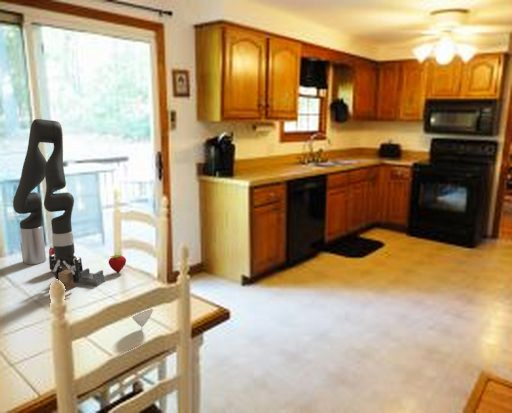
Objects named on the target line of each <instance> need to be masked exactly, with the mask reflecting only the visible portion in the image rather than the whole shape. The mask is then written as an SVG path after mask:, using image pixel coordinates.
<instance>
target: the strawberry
mask: <svg viewBox="0 0 512 413" xmlns="http://www.w3.org/2000/svg"><path fill="white" fill-rule="evenodd" d="M126 263H127V259H126V257H125V256H123V255H122V254H120V253H118V254H117V253H114V255H111V256H110V258H109V259H108V265H109V267H110V268H111V270H113V271H114V272H115V273H118V274H119V273H120V272H121V271H122V270H123V268H124V267H125V266H126Z"/></svg>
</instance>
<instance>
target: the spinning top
mask: <svg viewBox="0 0 512 413" xmlns="http://www.w3.org/2000/svg"><path fill="white" fill-rule="evenodd" d="M153 312H154V308H153V309H150V310H147V311H144V312H142V313H139V314H137V315H135V316H133V317H131V318H132V320H133V321H134V322H135V323H136V324H137V325H139V326H140V327H141V328H142V327H143V328H144V326H145V325H146V324H147V322H148V321H149V319H150V317H151V316H152V314H153Z"/></svg>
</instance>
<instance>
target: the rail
mask: <svg viewBox="0 0 512 413" xmlns="http://www.w3.org/2000/svg"><path fill="white" fill-rule="evenodd" d="M60 270H61V272H62V267H61V269H60ZM74 271H75V270H74ZM105 282H106V281H105V275H104V270H102V269H101V270H98V271H97V272H95V273H93V272H90V268H88V267H87V268H85V269H83V271H82V272H80V273H79V281H78V282H77V283H76V284H80V285H86V286H92V287H98V286H100V285H102V284H103V283H105Z"/></svg>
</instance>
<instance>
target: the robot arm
mask: <svg viewBox="0 0 512 413" xmlns="http://www.w3.org/2000/svg"><path fill="white" fill-rule="evenodd" d="M63 136H64V135H63V128H62V125H61V123H60V122H59V121H57V120H49V119H44V118H43V119H41V118H36V119H33V121H31V125H30V129H29V136H28V137H29V138H28V144H27V149H26V153H25V158H24V161H23V165H22V169H21V175H20V179H19V183H18V186H17V189H16V190H15V194H14V197H13V200H12V206H13V210H14V212H15V213H16V214H18V215H24V214H29V215H28V216H27V217H25V218H23V219H21V221H20V223H19V228H20V235H21V243H20V250H21V256H22V257H21V258H22V263H24V264H26V265H37V264H38V265H39V264H41V263H45V262H46V261H47V254H46V248H45V247H46V245H45V244H46V243H45V237H44V236H45V235H44V228H43V206H44V209H45V210H46V211H47V212H49V213H54V212H55V213H56V212H63V214H61V215H58V216H54V217H53V218H52V219H51V223H50V224H51V231H52V235H51V237H52V245H53V249H54V254H53V255H51V256H48V262H49V263H48V264H49V270H50V271H51V270H53V271H54V272H55V273H54V272H53V273H54V278H55V280H56V279H58V280H57V281H59V278H58V273H60V272H61V270H60V269H61V267H65V268H68V269H69V270H70V271H71V272H72V273H73V283H75V284H78V283H77V282H78V281H79V273H80V272H82V271H83V270H84V269H83V263H82V257H80V256H79V257H76V258H75V257H74V256H75V252H76V251H75V240H74V234H73V228H72V227H73V226H72V216H73V215H72V213H73V210H74V204H75V198H74V196H73V195H72V193H71V192H59V193H58V192H57V191H60V190H62V189H64V188H65V187H66V186H67V182H66V175H65V170H64V143H63V142H64V140H63V139H64V137H63ZM40 143H46V144H47V143H48V144H53V150H52V152H51V154H50V156H49V157H48V159H46V158H45V156H44V155H43V153H42V152H41V149H40V146H39V144H40ZM44 180H45V187H46V189H45V194H44V198H43V199H44V200H43V203H42V197H41V196H40V194H39V193H38V192H35V191H34V192H32V191H33V190H35V189H36V188H37V187H38V186H39V185H41V183H42V182H43V181H44ZM55 192H56V193H55ZM42 205H43V206H42ZM56 261H57V263H56ZM72 265H73V267H71V266H72ZM74 269H75V271H74Z"/></svg>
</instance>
